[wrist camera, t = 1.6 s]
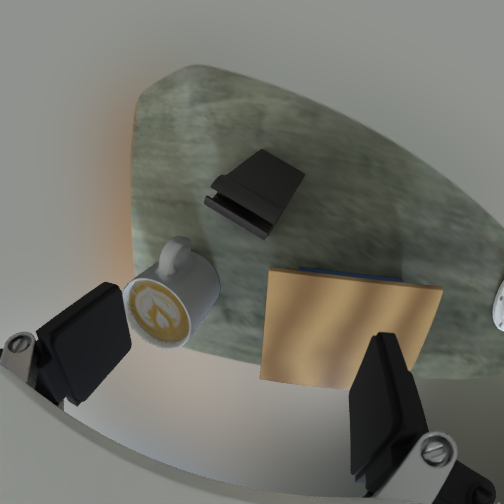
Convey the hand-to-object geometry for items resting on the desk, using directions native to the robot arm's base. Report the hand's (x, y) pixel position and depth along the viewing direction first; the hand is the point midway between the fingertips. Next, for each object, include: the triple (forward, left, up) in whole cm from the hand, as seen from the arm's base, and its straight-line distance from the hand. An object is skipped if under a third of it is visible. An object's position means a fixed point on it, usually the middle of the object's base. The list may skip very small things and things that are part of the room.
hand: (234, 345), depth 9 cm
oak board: (-8, +13, -20) cm, 25 cm away
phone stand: (+4, -2, -26) cm, 26 cm away
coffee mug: (+14, +10, -26) cm, 31 cm away
